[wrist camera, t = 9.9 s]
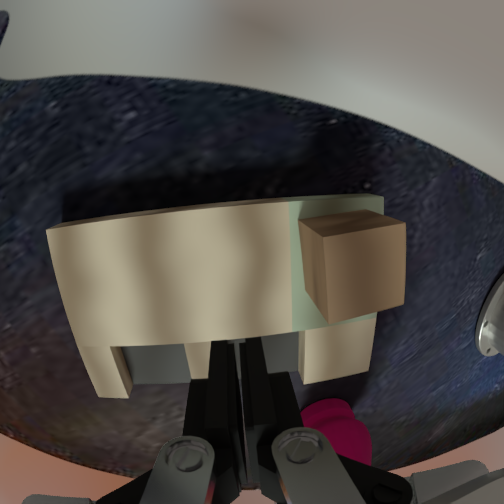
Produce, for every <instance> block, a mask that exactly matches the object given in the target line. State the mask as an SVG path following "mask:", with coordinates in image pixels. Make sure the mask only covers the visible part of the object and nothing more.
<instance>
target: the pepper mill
mask: <svg viewBox="0 0 504 504" xmlns="http://www.w3.org/2000/svg"><path fill="white" fill-rule="evenodd" d="M300 414H301V417H302V421H303V424H304V427H309V428H312V429H315V430H318V431H319V432H321V433H323V434H324V436H325V437H326V438H327V439H328V441H329V443H330V444H331V446H332V448H333V449H334V451H335V453H338V454H340V455H343V456H345V457H348V458H350V459H353V460H356V461H358V462H361V463H364V464H366V465H369V466H371V454H372V444H371V437H370V434H369V432H368V429H367V427H366V426H365V425H364V424H363V423H362V422H360V421H359V420H356V419H355V416H354V413H353V411H352V409H351V408H350V406H349V404H348V403H347V402H346V401H344V400H342V399H336V398H330V399H324V400H320V401H317V402H315V403H313V404H311V405H309V406H308V407H306V408H305V409H304V410H303V411H302V412H301V413H300Z"/></svg>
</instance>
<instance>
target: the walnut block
mask: <svg viewBox="0 0 504 504" xmlns="http://www.w3.org/2000/svg"><path fill="white" fill-rule="evenodd" d="M298 227H299V236H300V244H301V254H302V263H303V273H304V284H305V291H306V292H307V293H308V295H309V296H310V298H311V299H312V301H313V302H314V304H315V305H316V307H317V308H318V310H319V311H320V313H321V314H322V316H323V317H324V318H325V320H326V321H327V323H328V324H332V323H337V322H341V321H345V320H348V319H352V318H356V317H360V316H364V315H367V314H371V313H375V312H378V311H382V310H385V309H389V308H392V307H396V306H399V305H402V304H404V294H405V271H406V223H404V222H402V221H399V220H396V219H393V218H391V217H388V216H385V215H382V214H379V213H376V212H373V211H370V210H367V209H363V210H357V211H350V212H343V213H337V214H330V215H324V216H318V217H311V218H305V219H299V220H298Z"/></svg>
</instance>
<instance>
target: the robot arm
mask: <svg viewBox="0 0 504 504" xmlns="http://www.w3.org/2000/svg"><path fill="white" fill-rule="evenodd" d="M475 342H476V347H477V349H478V350H479V351H480V352H481V353H482V354H483V355H485V356H492V355H495V354H497V353H499V352H500V353H501V354H502V355H504V274H503V275H502V276H501V277H500V278H499V279H498V281H497V282H496V283H495V285H494V286H493V288H492V290H491V291H490V293H489V295H488V297H487V299H486V301H485V303H484V305H483V308H482V310H481V313H480V316H479V319H478V322H477V327H476V334H475ZM239 352H240V367H241V382H242V396H243V410H244V422H245V431H246V439H247V446H248V452H249V459H250V466H251V472H252V479H253V483H256V482H260V484H261V492H262V494H263V495H264V496H266V497H268V498H269V499H271V500H273V501H274V503H275V504H504V468H503V469H500V470H496V471H493V472H490V473H489V471H488V469H487V468H486V466H485V465H484V464H483V463H481V462H480V461H476V460H468V461H463V462H460V463H456V464H453V465H449V466H445V467H441V468H436V469H432V470H427V471H423V472H417V473H412V475H411V476H410V477H404V478H403V477H401V476H399V475H397V474H393V473H390V472H387V471H384V470H381V469H378V468H375V467H372V466H369V465H366V464H364V463H361V462H358V461H356V460H353V459H350V458H348V457H345V456H343V455H340V454H338V453H335V451H334V449H333V448H332V446H331V444H330V443H329V441H328V439H327V438H326V437H325V436H324V434H323V433H321V432H319V431H318V430H315V429H312V428H309V427H304V424H303V421H302V417H301V414H300V410H299V407H298V403H297V400H296V396H295V393H294V389H293V386H292V382H291V379H290V375H289V372H288V371H284V372H276V373H268V371H267V366H266V361H265V356H264V350H263V345H262V340H261V337H252V338H245V342H243V343H239ZM243 483H247V470H246V457H245V444H244V430H243V416H242V403H241V395H240V388H239V380H238V372H237V364H236V356H235V347H234V343H231V344H228V341H227V340H216V341H211V347H210V358H209V370H208V378H203V379H191V381H190V386H189V393H188V400H187V406H186V413H185V420H184V428H183V435H182V436H181V437H177V438H174V439H172V440H170V441H168V442H167V443H166V444H165V445H164V446H163V447H162V449H161V450H160V452H159V454H158V457H157V460H156V462H155V465H154V467H153V469H151V470H149V471H148V472H146V473H144V474H143V475H141V476H139V477H138V478H136V479H134V480H132V481H131V482H129V483H127V484H125V485H124V486H122V487H120V488H118V489H116V490H114V491H113V492H111V493H109V494H107V495H105V496H103V497H102V498H100V499H99V500H97V501H92V500H91V499H90V498H75V497H60V496H49V495H40V494H33V495H30V496H28V497H26V498H25V499H24V500H23V502H22V504H230V503H231V502H232V501H234V500H235V499H236V498H237V497H238V496H239V492H241V484H243Z"/></svg>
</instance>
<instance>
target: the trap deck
mask: <svg viewBox="0 0 504 504" xmlns="http://www.w3.org/2000/svg"><path fill="white" fill-rule="evenodd" d="M363 209H367V210H370V211H373V212H376V213H379V214H382V215H384V197H381V196H377V195H373V194H368V193H365V194H338V195H318V196H300V197H284V198H270V199H256V200H244V201H232V202H221V203H211V204H201V205H191V206H182V207H173V208H164V209H156V210H148V211H140V212H132V213H125V214H118V215H110V216H103V217H97V218H90V219H84V220H77V221H71V222H65V223H60V224H58V225H56V226H54V227H51V228H49V229H47V230H46V233H47V238H48V243H49V248H50V253H51V257H52V262H53V266H54V270H55V274H56V278H57V282H58V286H59V290H60V293H61V297H62V300H63V304H64V307H65V310H66V314H67V317H68V320H69V323H70V326H71V329H72V332H73V335H74V338H75V340H76V343H77V346H78V349H79V351H80V354H81V356H82V359H83V361H84V364H85V366H86V369H87V371H88V374H89V376H90V378H91V381H92V383H93V385H94V388H95V390H96V392H97V394H98V396H99V397H109V398H129V396H130V393H131V389H132V386H133V384H166V383H189V382H190V381H191V379H203V378H208V370H209V358H210V347H211V341H216V340H227V341H228V344H231V343H234V347H235V356H236V364H237V372H238V379H239V378H241V367H240V352H239V343H243V342H245V338H252V337H261V340H262V345H263V350H264V356H265V361H266V366H267V371H268V373H276V372H284V371H288V372H293V371H299V373H300V376H301V378H302V381H303V384H309V383H315V382H320V381H325V380H330V379H335V378H339V377H344V376H348V375H353V374H357V373H361V372H365V371H368V370H369V364H370V358H371V352H372V346H373V339H374V332H375V325H376V317H377V312H375V313H371V314H367V315H364V316H360V317H356V318H352V319H348V320H345V321H341V322H337V323H332V324H328V323H327V321H326V320H325V318H324V317H323V316H322V314H321V313H320V311H319V310H318V308H317V307H316V305H315V304H314V302H313V301H312V299H311V298H310V296H309V295H308V293H307V292H306V291H305V284H304V273H303V263H302V254H301V244H300V236H299V227H298V220H299V219H305V218H311V217H318V216H324V215H330V214H337V213H343V212H350V211H357V210H363Z"/></svg>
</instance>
